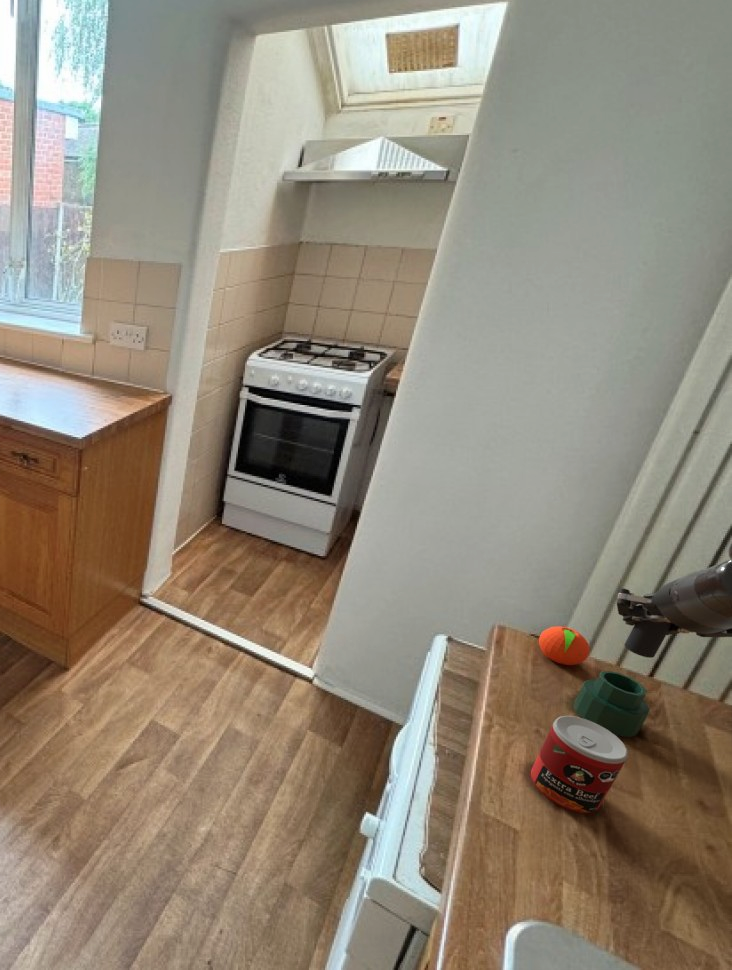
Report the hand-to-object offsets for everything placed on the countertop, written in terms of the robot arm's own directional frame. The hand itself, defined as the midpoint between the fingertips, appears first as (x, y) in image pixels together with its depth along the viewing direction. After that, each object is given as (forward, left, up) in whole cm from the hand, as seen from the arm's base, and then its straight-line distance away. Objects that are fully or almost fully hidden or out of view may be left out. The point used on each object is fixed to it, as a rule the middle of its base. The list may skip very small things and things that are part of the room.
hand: (645, 623), depth 96 cm
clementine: (+7, -10, -19) cm, 23 cm away
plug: (-1, +2, -4) cm, 4 cm away
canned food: (+1, +25, -19) cm, 32 cm away
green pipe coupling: (-1, +2, -19) cm, 19 cm away
